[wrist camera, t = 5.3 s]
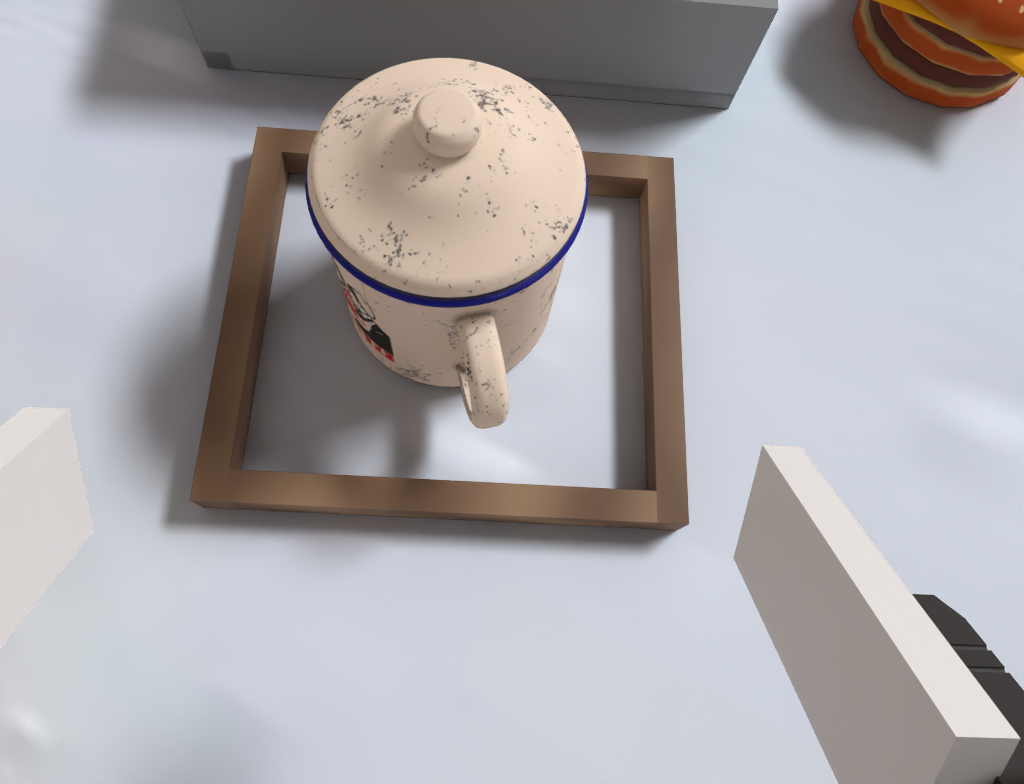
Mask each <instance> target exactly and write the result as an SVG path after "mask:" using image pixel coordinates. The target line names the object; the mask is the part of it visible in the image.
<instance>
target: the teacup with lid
mask: <svg viewBox="0 0 1024 784" xmlns="http://www.w3.org/2000/svg"><path fill="white" fill-rule="evenodd" d="M305 189H306V199H307V204H308V209H309V213H310V216H311V219H312V222H313V225H314V227H315V229H316V231H317V233H318V235H319V237H320V239H321V240H322V242H323V243H324V245H325V247H326V248H327V249H328V251H329V252H330V253H331V256H332V259H333V262H334V265H335V268H336V271H337V274H338V278H339V281H340V284H341V287H342V290H343V293H344V296H345V299H346V302H347V306H348V309H349V312H350V315H351V318H352V321H353V324H354V326H355V328H356V331H357V333H358V335H359V336H360V338H361V340H362V341H363V343H364V344H365V345H366V347H367V348H368V349H369V351H370V352H371V353H372V354H373V355H374V356H375V357H376V358H377V359H378V360H379V361H380V362H382V363H383V364H384V365H385V366H387V367H388V368H390V369H391V370H393V371H394V372H396V373H398V374H400V375H402V376H404V377H406V378H408V379H411V380H414V381H417V382H420V383H424V384H428V385H434V386H443V387H458V386H460V388H461V393H462V397H463V401H464V405H465V408H466V411H467V414H468V417H469V419H470V421H471V422H472V424H473V425H474V426H476V427H477V428H481V429H484V428H490V427H495V426H499V425H501V424H502V423H503V422H504V421H505V419H506V417H507V414H508V409H509V396H508V386H507V378H506V371H508V370H510V369H511V368H512V367H514V366H515V365H517V364H518V363H519V362H520V361H521V360H522V359H524V357H525V356H526V355H527V354H528V353H529V352H530V351H531V350H532V348H533V347H534V346H535V344H536V343H537V341H538V340H539V338H540V336H541V335H542V333H543V330H544V328H545V326H546V323H547V320H548V317H549V314H550V310H551V306H552V303H553V299H554V296H555V292H556V288H557V285H558V281H559V278H560V274H561V270H562V267H563V263H564V259H565V256H566V253H567V251H568V250H569V248H570V247H571V245H572V244H573V242H574V240H575V238H576V236H577V234H578V232H579V230H580V227H581V225H582V222H583V219H584V215H585V211H586V206H587V197H588V179H587V171H586V166H585V162H584V158H583V155H582V151H581V148H580V145H579V143H578V140H577V138H576V136H575V134H574V132H573V130H572V128H571V126H570V125H569V123H568V122H567V120H566V118H565V117H564V116H563V115H562V113H561V112H560V111H559V109H558V108H557V107H556V106H555V105H554V104H553V103H552V102H551V101H550V99H548V98H547V97H546V96H545V95H544V94H543V93H542V92H541V91H539V90H538V89H537V88H535V87H534V86H533V85H531V84H530V83H528V82H527V81H525V80H523V79H522V78H520V77H518V76H516V75H514V74H512V73H510V72H508V71H506V70H503V69H501V68H498V67H495V66H492V65H489V64H486V63H481V62H477V61H472V60H466V59H456V58H431V59H421V60H415V61H410V62H406V63H402V64H398V65H395V66H392V67H390V68H387V69H385V70H382V71H380V72H378V73H376V74H374V75H372V76H370V77H368V78H366V79H365V80H363V81H362V82H360V83H359V84H357V85H356V86H354V87H353V88H352V89H351V90H350V91H348V92H347V93H346V94H345V95H344V96H343V97H342V98H341V99H340V100H339V101H338V102H337V103H336V104H335V106H334V107H333V108H332V109H331V110H330V112H329V113H328V114H327V116H326V117H325V119H324V120H323V122H322V124H321V125H320V127H319V129H318V131H317V133H316V136H315V138H314V141H313V143H312V147H311V151H310V154H309V158H308V162H307V168H306V177H305Z"/></svg>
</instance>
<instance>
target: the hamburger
mask: <svg viewBox="0 0 1024 784" xmlns="http://www.w3.org/2000/svg"><path fill="white" fill-rule="evenodd" d="M853 25H854V30H855V34H856V38H857V42H858V47H859V50H860V51H861V52H862V54H863V55H864V57H865V58H866V59H867V61H868V62H869V63H870V65H871V66H872V68H873V69H874V70H875V72H876V73H877V74H878V76H880V77H881V78H882V79H884V80H885V81H886V82H888V83H889V84H891V85H892V86H893V87H895V88H896V89H898V90H899V91H900V92H902V93H903V94H905V95H907V96H910V97H913V98H915V99H918V100H921V101H924V102H927V103H930V104H933V105H936V106H939V107H968V108H972V107H974V106H977V105H980V104H982V103H985V102H988V101H990V100H993V99H996V98H998V97H1000V96H1003V95H1004V94H1005V93H1006V92H1007V91H1008V90H1009V89H1010V88H1011V87H1012V86H1013V85H1014V84H1015V83H1016V81H1017V80H1018V79H1019V78H1020V77H1021V76H1022V77H1024V0H859V3H858V7H857V10H856V14H855V18H854V22H853Z"/></svg>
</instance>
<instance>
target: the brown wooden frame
mask: <svg viewBox="0 0 1024 784" xmlns="http://www.w3.org/2000/svg"><path fill="white" fill-rule="evenodd" d="M316 133H317V131H308V130H295V129H282V128H269V127H257V132H256V138H255V143H254V149H253V154H252V160H251V165H250V171H249V176H248V182H247V187H246V193H245V198H244V204H243V209H242V215H241V220H240V226H239V231H238V237H237V242H236V248H235V253H234V259H233V264H232V270H231V275H230V281H229V286H228V292H227V297H226V303H225V308H224V314H223V319H222V325H221V330H220V336H219V342H218V347H217V353H216V358H215V364H214V369H213V375H212V380H211V386H210V391H209V397H208V402H207V408H206V413H205V419H204V424H203V430H202V435H201V441H200V446H199V452H198V457H197V463H196V468H195V474H194V479H193V485H192V490H191V496H190V500H191V501H193V502H194V503H196V504H198V505H200V506H202V507H207V508H228V509H249V510H270V511H291V512H312V513H332V514H353V515H374V516H395V517H416V518H437V519H458V520H479V521H500V522H520V523H541V524H562V525H583V526H604V527H625V528H646V529H667V530H679V529H681V528H682V527H684V526H686V525H688V524H689V514H688V491H687V467H686V444H685V420H684V397H683V373H682V349H681V326H680V302H679V279H678V255H677V232H676V208H675V185H674V161H673V158H665V157H651V156H638V155H625V154H612V153H599V152H585V151H582V155H583V158H584V162H585V166H586V171H587V179H588V195H601V196H615V197H629V198H640V229H641V271H642V312H643V354H644V395H645V437H646V478H647V490H628V489H608V488H588V487H568V486H549V485H529V484H509V483H490V482H470V481H450V480H430V479H411V478H391V477H371V476H351V475H332V474H312V473H292V472H273V471H253V470H241V469H242V463H243V457H244V451H245V444H246V438H247V432H248V426H249V419H250V413H251V407H252V401H253V394H254V388H255V382H256V376H257V370H258V363H259V357H260V351H261V345H262V338H263V332H264V326H265V320H266V313H267V307H268V301H269V295H270V289H271V282H272V276H273V270H274V264H275V257H276V251H277V245H278V239H279V232H280V226H281V220H282V214H283V207H284V201H285V195H286V189H287V183H288V176H289V173H298V174H306V168H307V162H308V158H309V154H310V151H311V147H312V143H313V141H314V138H315V136H316Z"/></svg>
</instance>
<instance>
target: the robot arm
mask: <svg viewBox="0 0 1024 784" xmlns="http://www.w3.org/2000/svg"><path fill="white" fill-rule="evenodd" d="M93 531H94V527H93V523H92V518H91V513H90V508H89V504H88V499H87V494H86V489H85V485H84V480H83V475H82V470H81V466H80V461H79V456H78V451H77V447H76V442H75V437H74V432H73V428H72V423H71V418H70V413H69V409H63V408H44V407H25V408H23V409H22V410H21V411H20V412H18V413H17V414H16V415H15V416H13V417H12V418H11V419H10V420H8V421H7V422H6V423H5V424H3V425H2V426H1V427H0V648H1V647H2V646H3V644H4V643H5V642H6V641H7V639H8V638H9V637H10V636H11V634H12V633H13V632H14V631H15V629H16V628H17V627H18V626H19V624H20V623H21V622H22V621H23V619H24V618H25V617H26V615H27V614H28V613H29V612H30V610H31V609H32V608H33V607H34V605H35V604H36V603H37V602H38V600H39V599H40V598H41V597H42V595H43V594H44V593H45V592H46V590H47V589H48V588H49V587H50V585H51V584H52V583H53V582H54V580H55V579H56V578H57V577H58V575H59V574H60V573H61V572H62V570H63V569H64V568H65V567H66V565H67V564H68V563H69V562H70V560H71V559H72V558H73V556H74V555H75V554H76V553H77V551H78V550H79V549H80V548H81V546H82V545H83V544H84V543H85V541H86V540H87V539H88V538H89V536H90V535H91V534H92V533H93ZM734 560H735V562H736V564H737V566H738V568H739V571H740V573H741V575H742V577H743V579H744V581H745V584H746V586H747V588H748V590H749V592H750V594H751V596H752V599H753V601H754V603H755V605H756V607H757V609H758V611H759V614H760V616H761V618H762V620H763V622H764V624H765V626H766V629H767V631H768V633H769V635H770V637H771V639H772V642H773V644H774V646H775V648H776V650H777V652H778V654H779V657H780V659H781V661H782V663H783V665H784V667H785V669H786V672H787V674H788V676H789V678H790V680H791V682H792V684H793V687H794V689H795V691H796V693H797V695H798V697H799V700H800V702H801V704H802V706H803V708H804V710H805V712H806V715H807V717H808V719H809V721H810V723H811V725H812V727H813V730H814V732H815V734H816V736H817V738H818V740H819V743H820V745H821V747H822V749H823V751H824V753H825V755H826V758H827V760H828V762H829V764H830V766H831V768H832V770H833V773H834V775H835V777H836V779H837V781H838V783H839V784H1024V690H1023V689H1022V688H1021V687H1020V686H1019V684H1018V683H1017V682H1016V681H1015V679H1014V678H1013V677H1012V676H1011V674H1010V673H1005V670H1004V668H1005V667H1004V666H1003V665H1002V663H1001V662H1000V661H999V660H998V658H997V657H996V656H995V655H994V654H993V652H992V651H990V650H987V648H986V646H987V645H986V644H985V643H984V641H983V640H982V639H981V638H980V636H979V635H978V634H977V633H976V631H975V630H974V629H973V628H972V627H971V625H970V624H969V623H968V622H967V620H966V619H965V618H964V617H962V616H961V615H960V614H958V613H957V612H956V611H954V610H953V609H952V608H950V607H949V606H948V605H946V604H945V603H944V602H942V601H941V600H940V599H938V598H937V597H936V596H934V595H920V594H911V592H910V591H909V590H908V588H907V587H906V586H905V584H904V583H903V582H902V580H901V579H900V578H899V576H898V575H897V574H896V572H895V571H894V570H893V569H892V567H891V566H890V565H889V563H888V562H887V561H886V559H885V558H884V557H883V555H882V554H881V553H880V551H879V550H878V549H877V547H876V546H875V545H874V543H873V542H872V541H871V539H870V538H869V537H868V535H867V534H866V533H865V531H864V530H863V529H862V527H861V526H860V525H859V523H858V522H857V521H856V519H855V518H854V517H853V515H852V514H851V513H850V511H849V510H848V509H847V507H846V506H845V505H844V503H843V502H842V501H841V500H840V498H839V497H838V496H837V494H836V493H835V492H834V490H833V489H832V488H831V486H830V485H829V484H828V482H827V481H826V480H825V478H824V477H823V476H822V474H821V473H820V472H819V470H818V469H817V468H816V466H815V465H814V464H813V462H812V461H811V460H810V458H809V457H808V456H807V454H806V453H805V452H804V450H803V449H802V448H801V447H793V446H773V445H762V449H761V453H760V457H759V461H758V465H757V469H756V473H755V477H754V481H753V484H752V488H751V492H750V496H749V500H748V504H747V508H746V512H745V516H744V520H743V524H742V527H741V531H740V535H739V539H738V543H737V547H736V551H735V555H734Z"/></svg>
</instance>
